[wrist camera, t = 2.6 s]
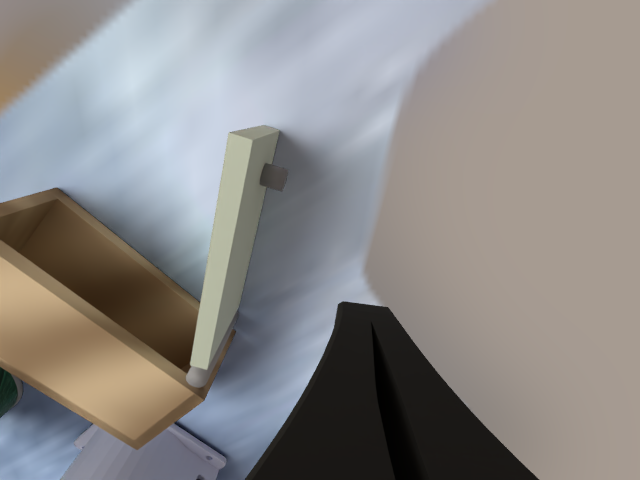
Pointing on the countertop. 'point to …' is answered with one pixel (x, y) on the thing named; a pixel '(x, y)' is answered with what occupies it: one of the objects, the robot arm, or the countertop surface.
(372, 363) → the robot arm
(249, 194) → the door
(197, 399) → the cabinet
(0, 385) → the canned tomato
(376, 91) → the countertop surface
